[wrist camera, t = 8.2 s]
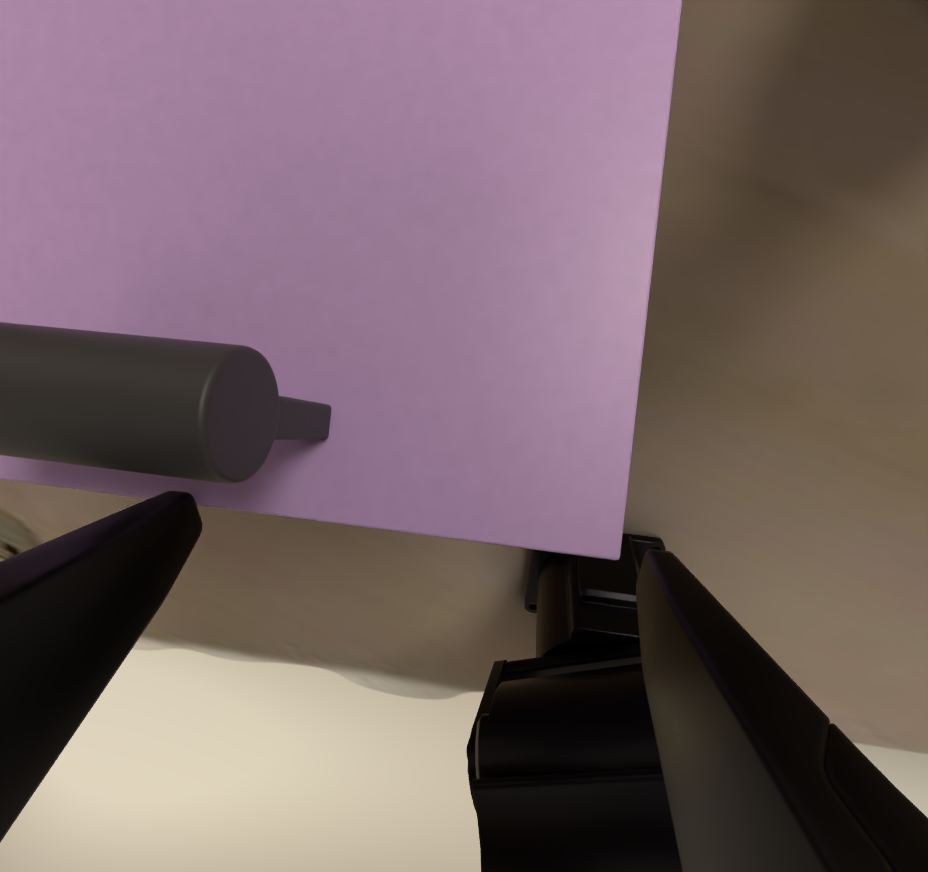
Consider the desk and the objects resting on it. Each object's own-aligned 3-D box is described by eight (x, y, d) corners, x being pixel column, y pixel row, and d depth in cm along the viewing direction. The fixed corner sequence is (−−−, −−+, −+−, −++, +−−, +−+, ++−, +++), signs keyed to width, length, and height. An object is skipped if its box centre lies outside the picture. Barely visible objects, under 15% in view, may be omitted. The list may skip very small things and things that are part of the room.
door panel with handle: (613, 553, 10) (715, 670, 5) (-102, 460, 11) (-561, 477, 6) (699, -210, 9) (891, -872, 5) (-36, -193, 11) (-453, -671, 6)
